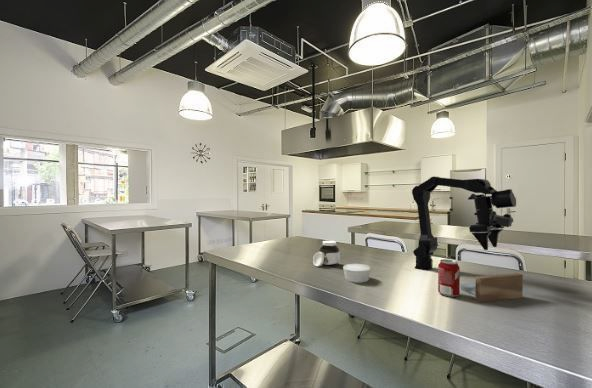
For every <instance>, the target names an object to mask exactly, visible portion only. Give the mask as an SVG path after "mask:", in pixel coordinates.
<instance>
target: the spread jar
mask: <svg viewBox="0 0 592 388" xmlns="http://www.w3.org/2000/svg"><path fill="white" fill-rule="evenodd" d="M340 261H341V251H340V247H338V245H337V241H336V240H323V241H322V245H321V246H320V248H319V250H318V252H315V254H314V255H313V258H312V263H313V264H312V265H314V266H315V267H321V266H324V267H329V268H331V267H336V266H337V265H338V264H339V263H340Z"/></svg>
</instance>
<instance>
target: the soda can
mask: <svg viewBox="0 0 592 388" xmlns="http://www.w3.org/2000/svg"><path fill="white" fill-rule="evenodd" d="M460 271H461V267H460V266H459V264H458V261H457V260H454V259H453V260H452V259H447V258H446V259H445V258H443V259H440V260H439V263H438V266H437V279H438V280H437V292H438V293H439V294H440V295H442V296H445V297H447V298H448V297H449V298H455V297H459V296H460V292H461V291H460V290H461V283H460V281H461V280H460V279H461V274H460V273H461V272H460Z"/></svg>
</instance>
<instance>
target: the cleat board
mask: <svg viewBox="0 0 592 388" xmlns="http://www.w3.org/2000/svg"><path fill="white" fill-rule="evenodd" d="M523 276H524V274H522V273H518V272H516V273H515V272H514V273H505V274H503V273H502V274H494V275H491V274H490V275H483V276H481V275H480V276H475V282H469V283H460V290H461V291H464V292H466V293H469V294H471V295H473V296H475V299H474V300H475V302H479V303H488V302H498V301H505V300H513V299H522V298H524V297H523V295H524V294H523V290H524V289H523V288H524V286H523V285H524V283H523V281H524V277H523Z"/></svg>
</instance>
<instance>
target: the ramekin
mask: <svg viewBox="0 0 592 388" xmlns="http://www.w3.org/2000/svg"><path fill="white" fill-rule="evenodd" d="M342 269H343V273H344V278H345V280H346V281H348V282H349V283H355V284H361V283H366V282H368V281H369V280H370V273H371V267H370V266H369V265H366V264H364V263H348V264H344V265H343V267H342Z"/></svg>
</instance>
